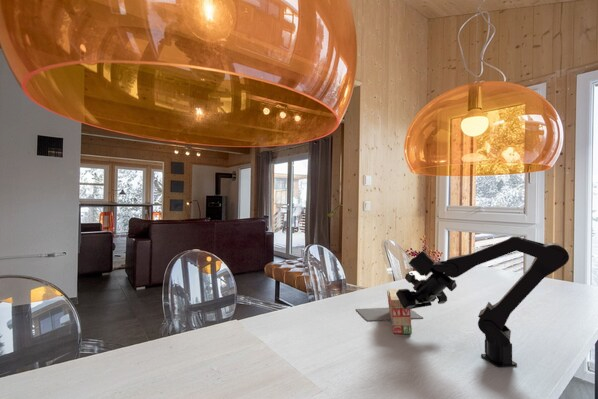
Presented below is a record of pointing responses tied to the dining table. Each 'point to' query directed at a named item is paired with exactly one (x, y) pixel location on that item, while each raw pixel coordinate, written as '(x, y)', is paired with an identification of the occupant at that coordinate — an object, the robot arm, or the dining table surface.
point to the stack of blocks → (398, 314)
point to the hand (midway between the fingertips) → (409, 307)
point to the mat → (381, 314)
